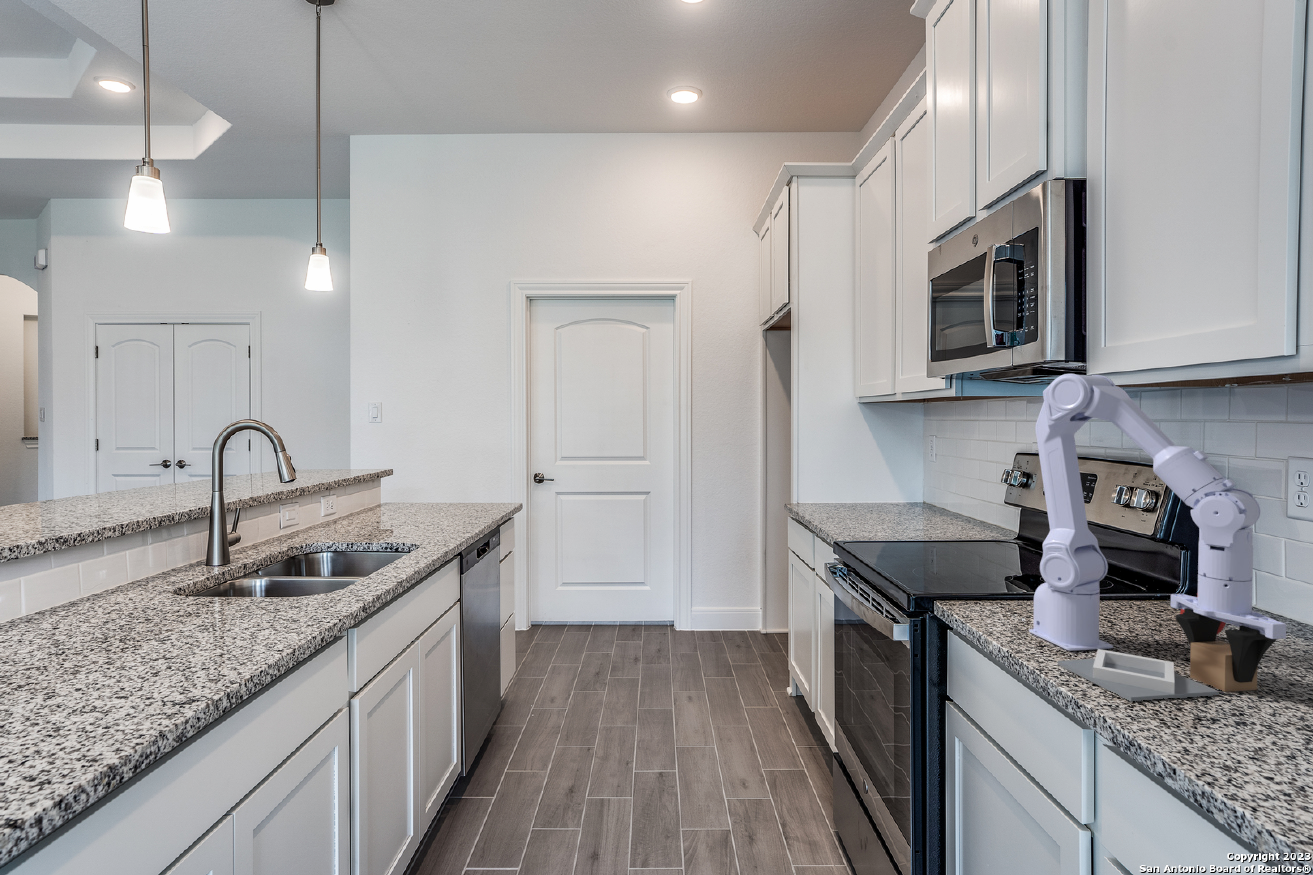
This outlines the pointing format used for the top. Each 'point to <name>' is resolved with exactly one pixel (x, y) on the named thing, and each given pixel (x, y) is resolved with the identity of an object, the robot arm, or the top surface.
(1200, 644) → the block
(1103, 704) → the top surface
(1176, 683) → the base plate
